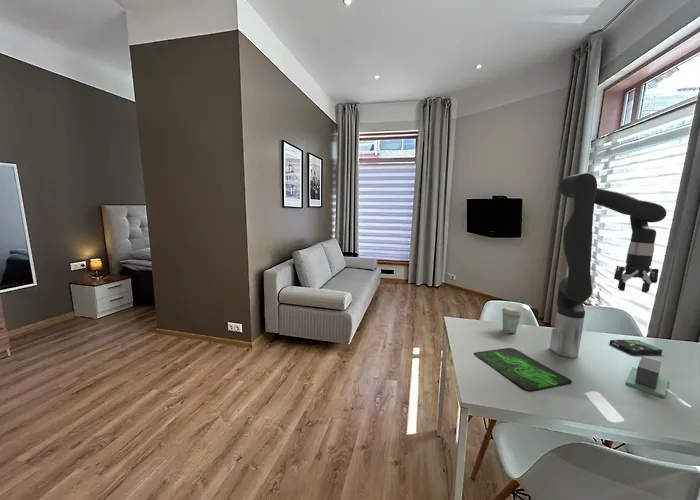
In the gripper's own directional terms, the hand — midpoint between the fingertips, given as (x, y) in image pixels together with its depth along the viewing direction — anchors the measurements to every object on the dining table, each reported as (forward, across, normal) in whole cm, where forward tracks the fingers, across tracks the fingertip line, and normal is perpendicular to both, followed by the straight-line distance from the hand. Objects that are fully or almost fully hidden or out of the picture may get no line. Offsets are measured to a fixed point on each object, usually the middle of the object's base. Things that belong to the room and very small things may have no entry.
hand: (632, 291), depth 122 cm
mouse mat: (+29, -50, -22) cm, 62 cm away
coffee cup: (+28, -41, +13) cm, 51 cm away
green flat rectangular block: (+28, -7, -23) cm, 37 cm away
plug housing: (+27, -7, -23) cm, 36 cm away
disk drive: (+29, +10, +6) cm, 31 cm away
